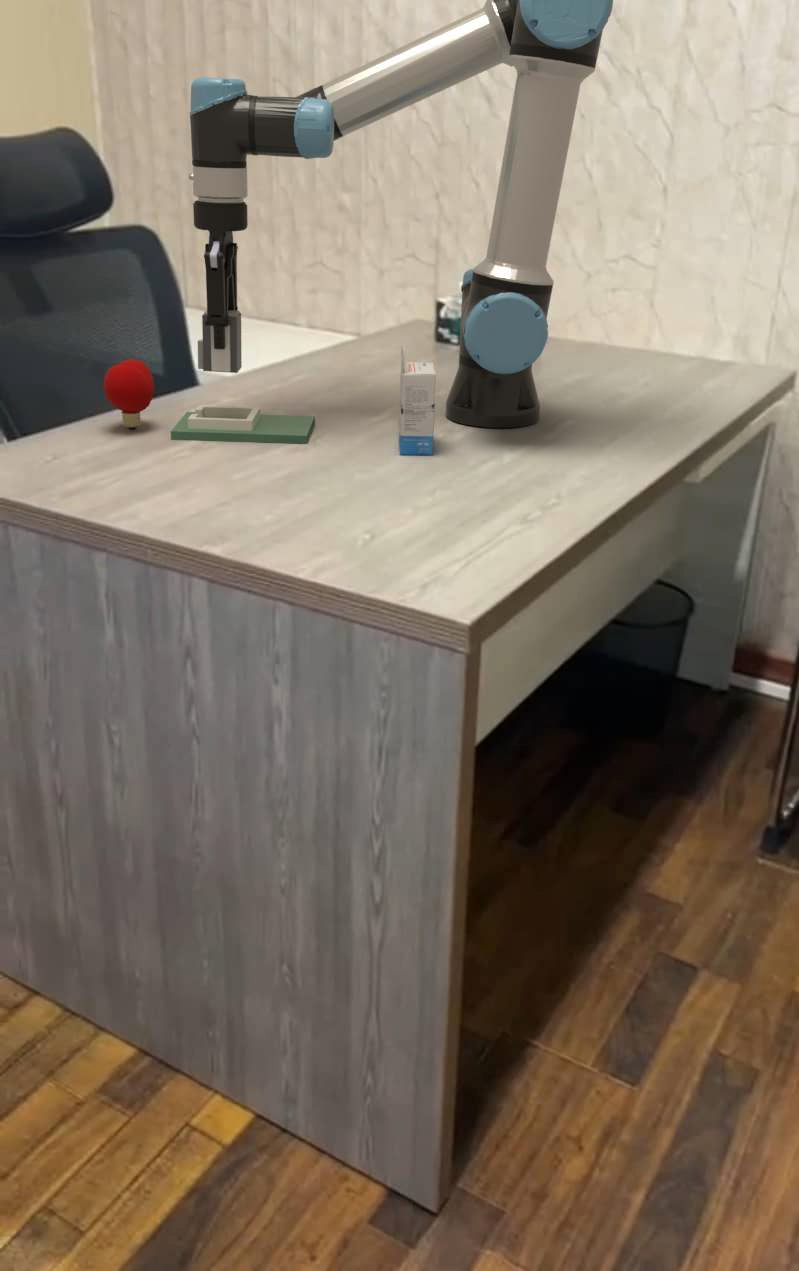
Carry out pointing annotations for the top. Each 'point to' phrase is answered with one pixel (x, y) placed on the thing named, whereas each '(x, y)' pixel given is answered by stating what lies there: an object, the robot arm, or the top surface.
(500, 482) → the top surface
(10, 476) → the top surface
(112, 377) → the light bulb
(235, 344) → the plug
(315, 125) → the robot arm
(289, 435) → the board
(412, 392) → the ink box
